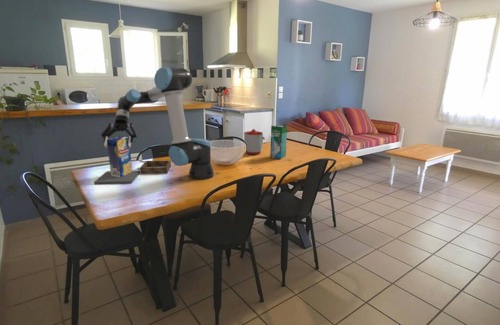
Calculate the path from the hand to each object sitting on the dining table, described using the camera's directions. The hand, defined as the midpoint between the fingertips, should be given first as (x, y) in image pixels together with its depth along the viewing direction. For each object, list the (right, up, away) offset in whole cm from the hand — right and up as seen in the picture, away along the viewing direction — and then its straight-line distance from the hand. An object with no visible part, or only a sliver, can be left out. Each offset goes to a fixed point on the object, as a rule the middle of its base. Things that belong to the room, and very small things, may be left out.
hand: (117, 146), depth 177 cm
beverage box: (+1, -17, +4) cm, 17 cm away
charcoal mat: (+1, -19, 0) cm, 19 cm away
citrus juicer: (+83, -2, +65) cm, 106 cm away
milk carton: (+101, -6, +54) cm, 115 cm away
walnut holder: (+18, -14, +18) cm, 29 cm away
